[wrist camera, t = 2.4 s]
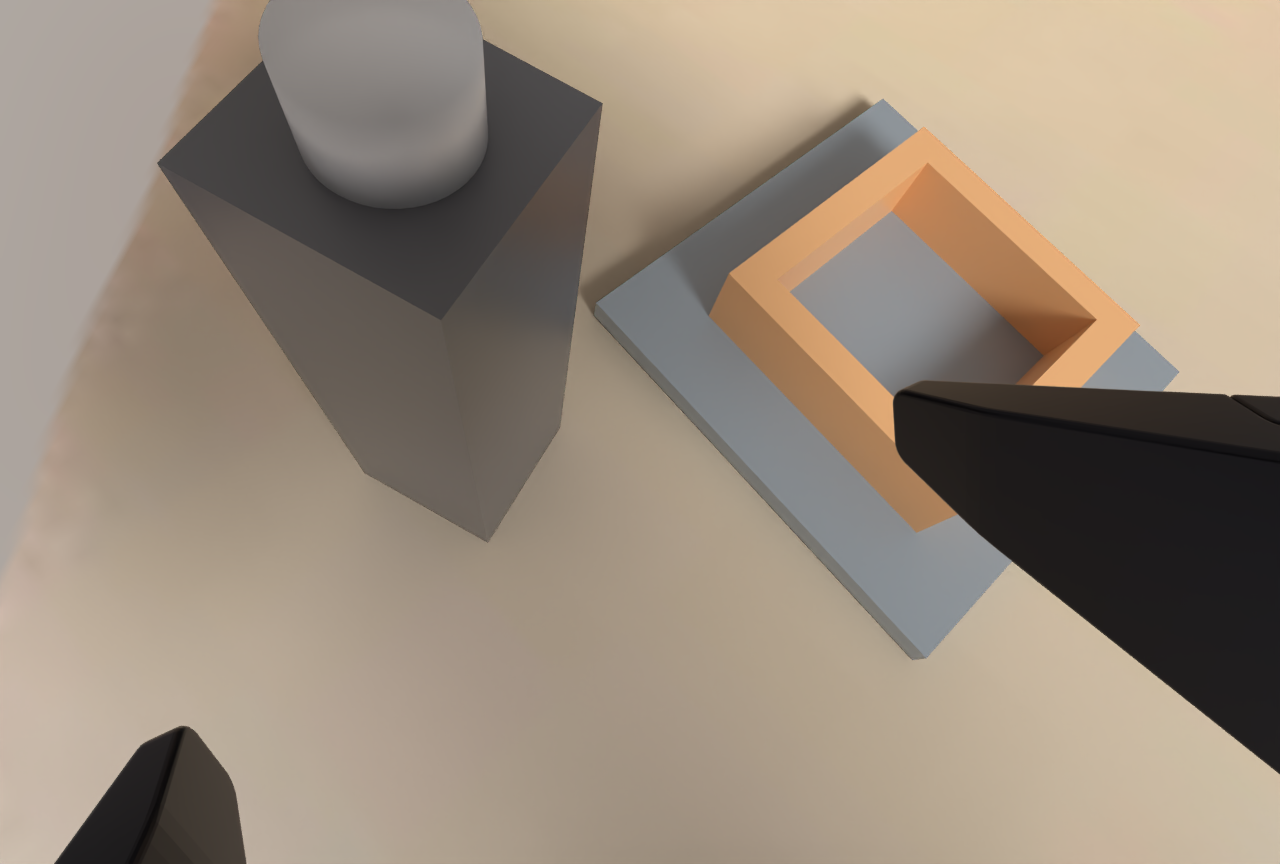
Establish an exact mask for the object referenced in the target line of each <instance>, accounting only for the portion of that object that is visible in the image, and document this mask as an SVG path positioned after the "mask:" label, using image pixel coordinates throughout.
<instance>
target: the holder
mask: <svg viewBox="0 0 1280 864" xmlns="http://www.w3.org/2000/svg"><path fill="white" fill-rule="evenodd" d="M594 316H595V317H596V318H597V319H598V320H599V321H600V323H601V324H602V325H603V326H604V327H605V328H606V329H607V330H608V331H609V332H610V333H611V334H612V335H613V337H614V338H615V339H616V340H617V341H618V342H619V343H620V344H621V345H622V346H623V347H624V348H625V350H626V351H627V352H628V353H629V354H630V355H631V356H632V357H633V358H634V359H635V360H636V361H637V363H638V364H639V365H640V366H641V367H642V368H643V369H644V370H645V371H646V372H647V373H648V374H649V376H650V377H651V378H652V379H653V380H654V381H655V382H656V383H657V384H658V385H659V386H660V387H661V388H662V390H663V391H664V392H665V393H666V394H667V395H668V396H669V397H670V398H671V399H672V400H673V401H674V403H675V404H676V405H677V406H678V407H679V408H680V409H681V410H682V411H683V412H684V413H685V414H686V416H687V417H688V418H689V419H690V420H691V421H692V422H693V423H694V424H695V425H696V426H697V427H698V429H699V430H700V431H701V432H702V433H703V434H704V435H705V436H706V437H707V438H708V439H709V440H710V441H711V443H712V444H713V445H714V446H715V447H716V448H717V449H718V450H719V451H720V452H721V453H722V454H723V456H724V457H725V458H726V459H727V460H728V461H729V462H730V463H731V464H732V465H733V466H734V467H735V469H736V470H737V471H738V472H739V473H740V474H741V475H742V476H743V477H744V478H745V479H746V480H747V482H748V483H749V484H750V485H751V486H752V487H753V488H754V489H755V490H756V491H757V492H758V493H759V494H760V496H761V497H762V498H763V499H764V500H765V501H766V502H767V503H768V504H769V505H770V506H771V507H772V509H773V510H774V511H775V512H776V513H777V514H778V515H779V516H780V517H781V518H782V519H783V520H784V522H785V523H786V524H787V525H788V526H789V527H790V528H791V529H792V530H793V531H794V532H795V533H796V535H797V536H798V537H799V538H800V539H801V540H802V541H803V542H804V543H805V544H806V545H807V546H808V547H809V549H810V550H811V551H812V552H813V553H814V554H815V555H816V556H817V557H818V558H819V559H820V560H821V562H822V563H823V564H824V565H825V566H826V567H827V568H828V569H829V570H830V571H831V572H832V573H833V575H834V576H835V577H836V578H837V579H838V580H839V581H840V582H841V583H842V584H843V585H844V586H845V588H846V589H847V590H848V591H849V592H850V593H851V594H852V595H853V596H854V597H855V598H856V599H857V600H858V602H859V603H860V604H861V605H862V606H863V607H864V608H865V609H866V610H867V611H868V612H869V613H870V615H871V616H872V617H873V618H874V619H875V620H876V621H877V622H878V623H879V624H880V625H881V626H882V628H883V629H884V630H885V631H886V632H887V633H888V634H889V635H890V636H891V637H892V638H893V639H894V641H895V642H896V643H897V644H898V645H899V646H900V647H901V648H902V649H903V650H904V651H905V652H906V653H907V655H908V656H909V657H910V658H911V659H912V660H916V659H924V658H927V657H928V656H929V655H930V653H931V652H932V651H933V650H934V649H935V648H936V647H937V646H938V644H939V643H940V642H941V641H942V640H943V639H944V638H945V636H946V635H947V634H948V633H949V632H950V631H951V630H952V629H953V627H954V626H955V625H956V624H957V623H958V622H959V621H960V619H961V618H962V617H963V616H964V615H965V614H966V613H967V612H968V610H969V609H970V608H971V607H972V606H973V605H974V604H975V603H976V601H977V600H978V599H979V598H980V597H981V596H982V595H983V593H984V592H985V591H986V590H987V589H988V588H989V587H990V586H991V584H992V583H993V582H994V581H995V580H996V579H997V578H998V576H999V575H1000V574H1001V573H1002V572H1003V571H1004V570H1005V569H1006V567H1007V566H1008V565H1009V564H1010V563H1011V562H1012V561H1011V560H1010V559H1009V558H1007V557H1006V556H1005V555H1003V554H1002V553H1001V552H1000V551H998V550H997V549H996V548H995V547H993V546H992V545H991V544H990V543H989V542H987V541H986V540H985V539H984V538H983V537H981V536H980V535H979V534H978V533H977V532H976V531H975V530H974V529H973V528H972V527H970V526H969V525H968V524H967V523H966V522H965V521H964V520H963V519H962V518H961V517H960V516H959V515H958V514H957V513H956V512H955V511H954V510H953V509H952V508H951V507H950V506H949V505H948V504H947V503H946V502H945V501H943V500H942V499H941V498H940V497H939V496H938V495H937V494H936V493H935V492H934V491H933V490H932V489H931V488H930V487H929V486H928V485H927V484H926V483H925V482H924V481H923V480H922V479H921V478H920V477H919V476H918V475H917V474H916V473H915V472H914V471H913V470H912V469H911V468H910V467H909V466H908V465H906V464H905V463H904V461H903V460H902V459H901V457H900V456H899V454H898V452H897V449H896V446H895V435H894V418H893V399H894V396H895V394H896V393H897V392H898V391H899V390H901V389H903V388H905V387H907V386H909V385H912V384H914V383H916V382H918V381H922V380H931V381H952V382H973V383H995V384H1016V385H1037V386H1058V387H1079V388H1101V389H1122V390H1143V391H1163V390H1164V389H1165V388H1166V386H1167V385H1168V384H1169V383H1170V382H1171V381H1172V380H1173V378H1174V377H1175V376H1176V375H1177V374H1178V373H1179V371H1178V370H1177V369H1176V368H1175V367H1174V366H1172V365H1171V364H1170V363H1169V362H1168V361H1167V360H1166V359H1165V358H1164V357H1163V356H1162V355H1161V354H1159V353H1158V352H1157V351H1156V350H1155V349H1154V348H1153V347H1152V346H1151V345H1150V344H1149V343H1147V342H1146V341H1145V340H1144V339H1143V338H1142V337H1141V336H1140V335H1139V334H1138V333H1137V332H1136V331H1135V330H1136V329H1137V328H1138V327H1139V326H1140V325H1139V324H1138V323H1137V322H1136V321H1135V320H1134V319H1133V318H1132V317H1131V316H1130V315H1129V314H1127V313H1126V312H1125V311H1124V310H1123V309H1122V308H1121V307H1120V306H1119V305H1118V304H1117V303H1115V302H1114V301H1113V300H1112V299H1111V298H1110V297H1109V296H1108V295H1107V294H1106V293H1105V292H1104V291H1102V290H1101V289H1100V288H1099V287H1098V286H1097V285H1096V284H1095V283H1094V282H1093V281H1092V280H1090V279H1089V278H1088V277H1087V276H1086V275H1085V274H1084V273H1083V272H1082V271H1081V270H1080V269H1078V268H1077V267H1076V266H1075V265H1074V264H1073V263H1072V262H1071V261H1070V260H1069V259H1068V258H1067V257H1065V256H1064V255H1063V254H1062V253H1061V252H1060V251H1059V250H1058V249H1057V248H1056V247H1055V246H1053V245H1052V244H1051V243H1050V242H1049V241H1048V240H1047V239H1046V238H1045V237H1044V236H1043V235H1041V234H1040V233H1039V232H1038V231H1037V230H1036V229H1035V228H1034V227H1033V226H1032V225H1031V224H1030V223H1028V222H1027V221H1026V220H1025V219H1024V218H1023V217H1022V216H1021V215H1020V214H1019V213H1018V212H1016V211H1015V210H1014V209H1013V208H1012V207H1011V206H1010V205H1009V204H1008V203H1007V202H1006V201H1004V200H1003V199H1002V198H1001V197H1000V196H999V195H998V194H997V193H996V192H995V191H994V190H993V189H991V188H990V187H989V186H988V185H987V184H986V183H985V182H984V181H983V180H982V179H981V178H979V177H978V176H977V175H976V174H975V173H974V172H973V171H972V170H971V169H970V168H969V167H967V166H966V165H965V164H964V163H963V162H962V161H961V160H960V159H959V158H958V157H957V156H956V155H954V154H953V153H952V152H951V151H950V150H949V149H948V148H947V147H946V146H945V145H944V144H942V143H941V142H940V141H939V140H938V139H937V138H936V137H935V136H934V135H933V134H932V133H930V132H929V131H928V130H927V129H926V128H925V127H923V128H922V129H920V130H919V131H917V130H916V129H915V128H914V127H913V126H912V125H911V124H910V123H909V122H908V121H907V120H906V119H904V118H903V117H902V116H901V115H900V114H899V113H898V112H897V111H896V110H895V109H894V108H893V107H891V106H890V105H889V104H888V103H887V102H886V101H885V100H884V99H882V100H880V101H879V102H878V103H876V104H875V105H873V106H872V107H871V108H869V109H868V110H866V111H865V112H864V113H862V114H861V115H859V116H858V117H857V118H855V119H854V120H852V121H851V122H850V123H848V124H847V125H845V126H844V127H842V128H841V129H840V130H838V131H837V132H835V133H834V134H833V135H831V136H830V137H828V138H827V139H826V140H824V141H823V142H821V143H820V144H819V145H817V146H816V147H814V148H813V149H812V150H810V151H809V152H807V153H806V154H805V155H803V156H802V157H800V158H799V159H797V160H796V161H795V162H793V163H792V164H790V165H789V166H788V167H786V168H785V169H783V170H782V171H781V172H779V173H778V174H776V175H775V176H774V177H772V178H771V179H769V180H768V181H767V182H765V183H764V184H762V185H761V186H760V187H758V188H757V189H755V190H754V191H752V192H751V193H750V194H748V195H747V196H745V197H744V198H743V199H741V200H740V201H738V202H737V203H736V204H734V205H733V206H731V207H730V208H729V209H727V210H726V211H724V212H723V213H722V214H720V215H719V216H717V217H716V218H714V219H713V220H712V221H710V222H709V223H707V224H706V225H705V226H703V227H702V228H700V229H699V230H698V231H696V232H695V233H693V234H692V235H691V236H689V237H688V238H686V239H685V240H684V241H682V242H681V243H679V244H678V245H677V246H675V247H674V248H672V249H671V250H669V251H668V252H667V253H665V254H664V255H662V256H661V257H660V258H658V259H657V260H655V261H654V262H653V263H651V264H650V265H648V266H647V267H646V268H644V269H643V270H641V271H640V272H639V273H637V274H636V275H634V276H633V277H632V278H630V279H629V280H627V281H626V282H624V283H623V284H622V285H620V286H619V287H617V288H616V289H615V290H613V291H612V292H610V293H609V294H608V295H606V296H605V297H603V298H602V299H601V300H599V301H598V302H596V306H595V311H594Z"/></svg>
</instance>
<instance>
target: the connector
mask: <svg viewBox="0 0 1280 864" xmlns="http://www.w3.org/2000/svg"><path fill="white" fill-rule="evenodd" d="M258 39H259V49H260V52H261V56H262V59H263V61H262V62H261V63H260V64H259V65H258V66H257V67H256V68H255V69H254V70H253V71H252V72H251V73H250V74H248V75H247V76H246V77H245V78H244V79H243V80H242V81H241V82H240V83H239V84H238V85H237V86H236V87H235V88H234V89H233V90H232V91H231V92H230V93H229V94H228V95H227V96H226V97H225V98H224V99H223V100H222V101H221V102H220V103H219V104H218V105H217V106H215V107H214V108H213V109H212V110H211V111H210V112H209V113H208V114H207V115H206V116H205V117H204V118H203V119H202V120H201V121H200V122H199V123H198V124H197V125H196V126H195V127H194V128H193V129H192V130H191V131H190V132H189V133H188V134H187V135H186V136H185V137H184V138H182V139H181V140H180V141H179V142H178V143H177V144H176V145H175V146H174V147H173V148H172V149H171V150H170V151H169V152H168V153H167V154H166V155H165V156H164V157H163V158H162V159H161V160H160V161H159V162H158V163H157V164H158V165H159V167H160V168H161V170H162V171H163V173H164V174H165V176H166V177H167V179H168V180H169V182H170V183H171V185H172V186H173V188H174V189H175V191H176V192H177V194H178V195H179V197H180V198H181V200H182V201H183V203H184V204H185V206H186V207H187V209H188V210H189V212H190V213H191V215H192V216H193V218H194V219H195V221H196V222H197V224H198V225H199V227H200V228H201V230H202V231H203V232H204V234H205V235H206V237H207V238H208V240H209V241H210V243H211V244H212V246H213V247H214V249H215V250H216V252H217V253H218V255H219V256H220V258H221V259H222V261H223V262H224V264H225V265H226V267H227V268H228V270H229V271H230V273H231V274H232V276H233V277H234V279H235V280H236V282H237V283H238V285H239V286H240V288H241V289H242V291H243V292H244V294H245V295H246V297H247V298H248V300H249V301H250V303H251V304H252V306H253V307H254V309H255V310H256V312H257V313H258V315H259V316H260V318H261V319H262V321H263V322H264V324H265V325H266V326H267V328H268V329H269V331H270V332H271V334H272V335H273V337H274V338H275V340H276V341H277V343H278V344H279V346H280V347H281V349H282V350H283V352H284V353H285V355H286V356H287V358H288V359H289V361H290V362H291V364H292V365H293V367H294V368H295V370H296V371H297V373H298V374H299V376H300V377H301V379H302V380H303V382H304V383H305V385H306V386H307V388H308V389H309V391H310V392H311V394H312V395H313V397H314V398H315V400H316V401H317V403H318V404H319V406H320V407H321V409H322V410H323V412H324V413H325V415H326V416H327V417H328V419H329V420H330V422H331V423H332V425H333V426H334V428H335V429H336V431H337V432H338V434H339V435H340V437H341V438H342V440H343V441H344V443H345V444H346V446H347V447H348V449H349V450H350V452H351V453H352V455H353V456H354V458H355V459H356V461H357V462H358V464H359V465H360V467H361V468H362V470H363V471H364V473H366V474H368V475H369V476H371V477H373V478H375V479H376V480H378V481H380V482H382V483H383V484H385V485H387V486H389V487H391V488H392V489H394V490H396V491H398V492H399V493H401V494H403V495H405V496H406V497H408V498H410V499H412V500H413V501H415V502H417V503H419V504H421V505H422V506H424V507H426V508H428V509H429V510H431V511H433V512H435V513H436V514H438V515H440V516H442V517H444V518H445V519H447V520H449V521H451V522H452V523H454V524H456V525H458V526H459V527H461V528H463V529H465V530H466V531H468V532H470V533H472V534H474V535H475V536H477V537H479V538H481V539H482V540H484V541H486V542H488V541H489V540H490V538H491V537H492V535H493V533H494V532H495V530H496V529H497V527H498V525H499V524H500V522H501V521H502V519H503V517H504V516H505V514H506V513H507V511H508V509H509V508H510V506H511V505H512V503H513V501H514V500H515V498H516V497H517V495H518V493H519V492H520V490H521V489H522V487H523V485H524V484H525V482H526V481H527V479H528V477H529V476H530V474H531V473H532V471H533V469H534V468H535V466H536V465H537V463H538V461H539V460H540V458H541V457H542V455H543V453H544V452H545V450H546V449H547V447H548V445H549V444H550V442H551V441H552V439H553V437H554V436H555V434H556V433H557V431H558V429H559V428H560V422H561V415H562V407H563V400H564V392H565V385H566V377H567V369H568V362H569V354H570V347H571V339H572V331H573V324H574V316H575V309H576V301H577V293H578V286H579V278H580V271H581V263H582V256H583V248H584V240H585V233H586V225H587V218H588V210H589V202H590V195H591V187H592V180H593V172H594V164H595V157H596V149H597V142H598V134H599V127H600V119H601V111H602V104H603V103H601V102H599V101H597V100H595V99H593V98H591V97H590V96H588V95H586V94H584V93H582V92H580V91H578V90H576V89H575V88H573V87H571V86H569V85H567V84H565V83H563V82H561V81H560V80H558V79H556V78H554V77H552V76H550V75H548V74H547V73H545V72H543V71H541V70H539V69H537V68H535V67H533V66H532V65H530V64H528V63H526V62H524V61H522V60H520V59H518V58H517V57H515V56H513V55H511V54H509V53H507V52H505V51H503V50H502V49H500V48H498V47H496V46H494V45H492V44H490V43H489V42H487V41H485V40H483V37H482V31H481V27H480V23H479V21H478V18H477V16H476V14H475V12H474V10H473V9H472V7H471V5H470V4H469V3H468V1H467V0H270V1H269V3H268V4H267V6H266V8H265V10H264V12H263V15H262V18H261V21H260V25H259V34H258Z"/></svg>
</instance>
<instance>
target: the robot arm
mask: <svg viewBox="0 0 1280 864" xmlns="http://www.w3.org/2000/svg"><path fill="white" fill-rule="evenodd" d="M893 418H894V435H895V446H896V449H897V452H898V454H899V456H900V457H901V459H902V460H903V461H904V463H905V464H906V465H908V466H909V467H910V468H911V469H912V470H913V471H914V472H915V473H916V474H917V475H918V476H919V477H920V478H921V479H922V480H923V481H924V482H925V483H926V484H927V485H928V486H929V487H930V488H931V489H932V490H933V491H934V492H935V493H936V494H937V495H938V496H939V497H940V498H941V499H942V500H943V501H945V502H946V503H947V504H948V505H949V506H950V507H951V508H952V509H953V510H954V511H955V512H956V513H957V514H958V515H959V516H960V517H961V518H962V519H963V520H964V521H965V522H966V523H967V524H968V525H969V526H970V527H972V528H973V529H974V530H975V531H976V532H977V533H978V534H979V535H980V536H981V537H983V538H984V539H985V540H986V541H987V542H989V543H990V544H991V545H992V546H993V547H995V548H996V549H997V550H998V551H1000V552H1001V553H1002V554H1003V555H1005V556H1006V557H1007V558H1009V559H1010V560H1011V561H1012V562H1014V563H1015V564H1016V565H1017V566H1019V567H1020V568H1021V569H1022V570H1024V571H1025V572H1026V573H1027V574H1029V575H1030V576H1031V577H1032V578H1034V579H1035V580H1036V581H1037V582H1039V583H1040V584H1041V585H1042V586H1044V587H1045V588H1046V589H1047V590H1049V591H1050V592H1051V593H1053V594H1054V595H1055V596H1056V597H1058V598H1059V599H1060V600H1061V601H1063V602H1064V603H1065V604H1066V605H1068V606H1069V607H1070V608H1071V609H1073V610H1074V611H1075V612H1076V613H1078V614H1079V615H1080V616H1081V617H1083V618H1084V619H1085V620H1086V621H1088V622H1089V623H1090V624H1091V625H1093V626H1094V627H1095V628H1097V629H1098V630H1099V631H1100V632H1102V633H1103V634H1104V635H1105V636H1107V637H1108V638H1109V639H1110V640H1112V641H1113V642H1114V643H1115V644H1117V645H1118V646H1119V647H1120V648H1122V649H1123V650H1124V651H1125V652H1127V653H1128V654H1129V655H1130V656H1132V657H1133V658H1134V659H1135V660H1137V661H1138V662H1139V663H1141V664H1142V665H1143V666H1144V667H1146V668H1147V669H1148V670H1149V671H1151V672H1152V673H1153V674H1154V675H1156V676H1157V677H1158V678H1159V679H1161V680H1162V681H1163V682H1164V683H1166V684H1167V685H1168V686H1169V687H1171V688H1172V689H1173V690H1174V691H1176V692H1177V693H1178V694H1179V695H1181V696H1182V697H1183V698H1185V699H1186V700H1187V701H1188V702H1190V703H1191V704H1192V705H1193V706H1195V707H1196V708H1197V709H1198V710H1200V711H1201V712H1202V713H1203V714H1205V715H1206V716H1207V717H1208V718H1210V719H1211V720H1212V721H1213V722H1215V723H1216V724H1217V725H1218V726H1220V727H1221V728H1222V729H1224V730H1225V731H1226V732H1227V733H1229V734H1230V735H1231V736H1232V737H1234V738H1235V739H1236V740H1237V741H1239V742H1240V743H1241V744H1242V745H1244V746H1245V747H1246V748H1247V749H1249V750H1250V751H1251V752H1252V753H1254V754H1255V755H1256V756H1257V757H1259V758H1260V759H1261V760H1262V761H1264V762H1265V763H1266V764H1268V765H1269V766H1270V767H1271V768H1273V769H1274V770H1275V771H1276V772H1278V773H1279V774H1280V397H1273V396H1252V395H1232V396H1231V397H1229V396H1227V395H1225V394H1207V393H1185V392H1164V391H1143V390H1122V389H1101V388H1079V387H1058V386H1037V385H1016V384H995V383H973V382H952V381H931V380H922V381H918V382H916V383H914V384H912V385H909V386H907V387H905V388H903V389H901V390H899V391H898V392H897V393H896V394H895V396H894V399H893ZM54 864H247V863H246V857H245V850H244V844H243V837H242V831H241V824H240V817H239V811H238V804H237V798H236V792H235V789H234V786H233V783H232V781H231V779H230V777H229V775H228V773H227V772H226V771H225V769H224V768H223V767H222V765H221V764H220V763H219V761H218V760H217V759H216V758H215V756H214V755H213V754H212V752H211V751H210V750H209V748H208V747H207V746H206V745H205V743H204V742H203V741H202V739H201V738H200V737H199V735H198V734H197V733H196V732H195V731H194V730H193V729H191V728H190V727H187V726H179V727H177V728H174V729H172V730H170V731H168V732H166V733H164V734H161V735H159V736H157V737H155V738H153V739H151V740H149V741H147V742H145V743H143V744H142V745H141V746H140V747H139V748H138V749H137V751H136V752H135V753H134V755H133V756H132V757H131V759H130V760H129V762H128V763H127V764H126V766H125V767H124V768H123V770H122V771H121V773H120V774H119V775H118V777H117V778H116V779H115V781H114V782H113V784H112V785H111V786H110V788H109V789H108V790H107V792H106V793H105V795H104V796H103V797H102V799H101V800H100V801H99V803H98V804H97V806H96V807H95V808H94V810H93V811H92V812H91V814H90V815H89V817H88V818H87V819H86V821H85V822H84V823H83V825H82V826H81V828H80V829H79V830H78V832H77V833H76V834H75V836H74V837H73V839H72V840H71V841H70V843H69V844H68V845H67V847H66V848H65V850H64V851H63V852H62V854H61V855H60V856H59V858H58V859H57V861H56V862H55V863H54Z"/></svg>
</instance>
